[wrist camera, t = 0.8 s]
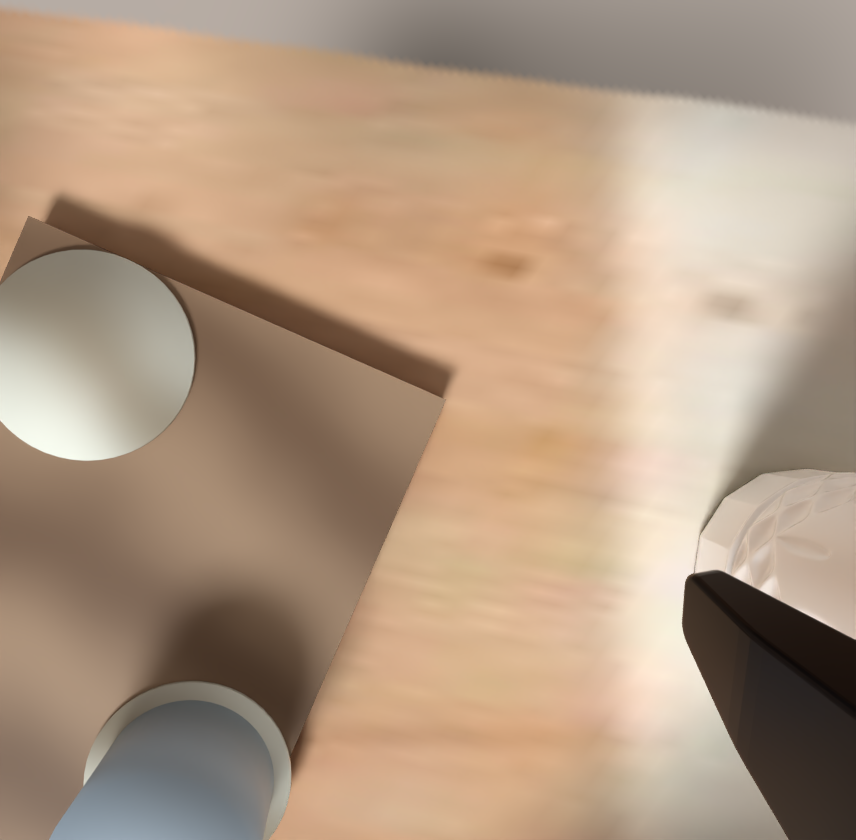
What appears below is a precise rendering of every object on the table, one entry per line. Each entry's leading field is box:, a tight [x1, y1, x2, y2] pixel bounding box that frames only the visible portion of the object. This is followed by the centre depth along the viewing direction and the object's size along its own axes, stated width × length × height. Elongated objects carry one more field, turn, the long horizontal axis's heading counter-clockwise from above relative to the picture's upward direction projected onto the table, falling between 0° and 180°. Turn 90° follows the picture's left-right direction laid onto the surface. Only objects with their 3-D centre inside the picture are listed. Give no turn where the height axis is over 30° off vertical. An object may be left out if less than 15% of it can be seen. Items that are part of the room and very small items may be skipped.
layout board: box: [0, 216, 446, 840], centre depth 21 cm, size 19×14×1 cm
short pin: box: [49, 700, 274, 840], centre depth 19 cm, size 5×5×4 cm
